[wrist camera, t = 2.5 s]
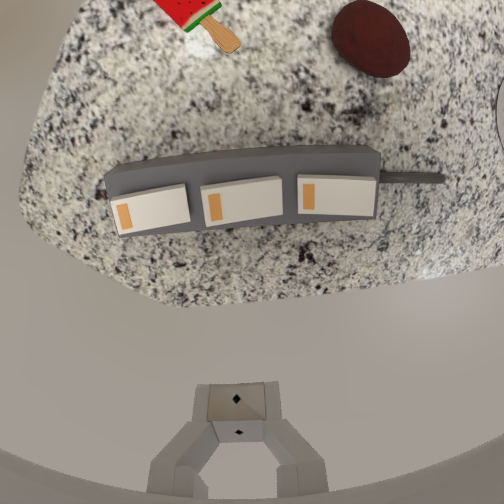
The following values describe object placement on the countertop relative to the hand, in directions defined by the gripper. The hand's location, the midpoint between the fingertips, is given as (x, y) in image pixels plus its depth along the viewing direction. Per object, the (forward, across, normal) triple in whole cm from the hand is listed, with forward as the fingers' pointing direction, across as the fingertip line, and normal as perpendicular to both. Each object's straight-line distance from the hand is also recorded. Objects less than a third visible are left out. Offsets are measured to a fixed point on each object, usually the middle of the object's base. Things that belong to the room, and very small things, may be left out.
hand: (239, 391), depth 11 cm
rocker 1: (+19, +8, 0) cm, 21 cm away
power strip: (+25, -5, 0) cm, 26 cm away
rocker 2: (+19, 0, 0) cm, 19 cm away
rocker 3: (+19, -8, 0) cm, 21 cm away
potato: (+25, -13, -15) cm, 32 cm away
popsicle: (+26, +4, -20) cm, 33 cm away
